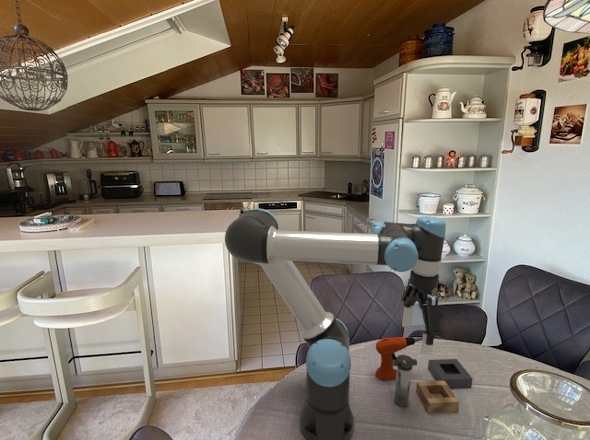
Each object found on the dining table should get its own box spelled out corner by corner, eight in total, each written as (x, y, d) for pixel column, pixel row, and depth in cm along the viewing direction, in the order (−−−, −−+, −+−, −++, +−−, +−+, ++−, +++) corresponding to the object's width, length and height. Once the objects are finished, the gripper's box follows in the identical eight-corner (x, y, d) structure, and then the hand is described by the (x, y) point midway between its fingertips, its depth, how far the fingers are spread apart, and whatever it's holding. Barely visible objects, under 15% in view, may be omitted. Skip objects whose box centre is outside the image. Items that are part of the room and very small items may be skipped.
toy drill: (432, 372, 115) (431, 334, 111) (379, 383, 113) (376, 344, 109) (425, 363, 119) (424, 326, 116) (373, 373, 118) (371, 336, 114)
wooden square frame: (428, 413, 100) (429, 403, 99) (416, 391, 108) (417, 381, 108) (458, 411, 100) (459, 401, 99) (443, 390, 109) (444, 380, 108)
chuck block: (441, 388, 109) (442, 379, 109) (427, 368, 119) (428, 359, 118) (471, 387, 110) (472, 378, 109) (455, 367, 120) (456, 358, 119)
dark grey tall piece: (392, 408, 101) (396, 365, 98) (387, 397, 106) (390, 355, 102) (415, 407, 102) (419, 364, 98) (409, 396, 106) (413, 354, 103)
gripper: (462, 291, 83) (449, 366, 88) (418, 256, 107) (410, 316, 113) (432, 291, 83) (422, 366, 88) (395, 256, 107) (388, 317, 112)
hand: (415, 338), depth 100 cm, fingers open, 13 cm apart
